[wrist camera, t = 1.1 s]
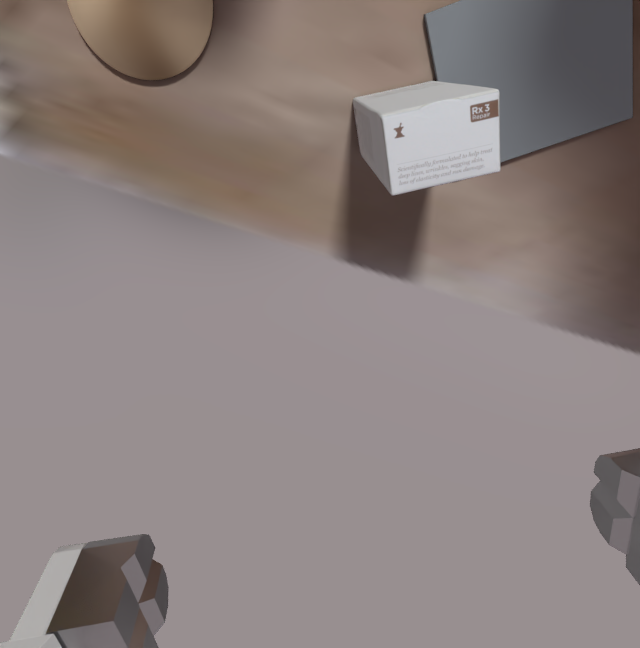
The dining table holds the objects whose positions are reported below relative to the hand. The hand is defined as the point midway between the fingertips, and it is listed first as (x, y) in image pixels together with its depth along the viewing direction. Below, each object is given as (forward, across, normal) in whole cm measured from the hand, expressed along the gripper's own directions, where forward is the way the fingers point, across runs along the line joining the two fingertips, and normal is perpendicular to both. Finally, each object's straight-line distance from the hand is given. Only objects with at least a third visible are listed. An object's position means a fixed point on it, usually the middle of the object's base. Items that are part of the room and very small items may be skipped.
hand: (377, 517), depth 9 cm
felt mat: (+30, -17, -7) cm, 35 cm away
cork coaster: (+31, +8, -14) cm, 35 cm away
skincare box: (+31, -8, -5) cm, 32 cm away
